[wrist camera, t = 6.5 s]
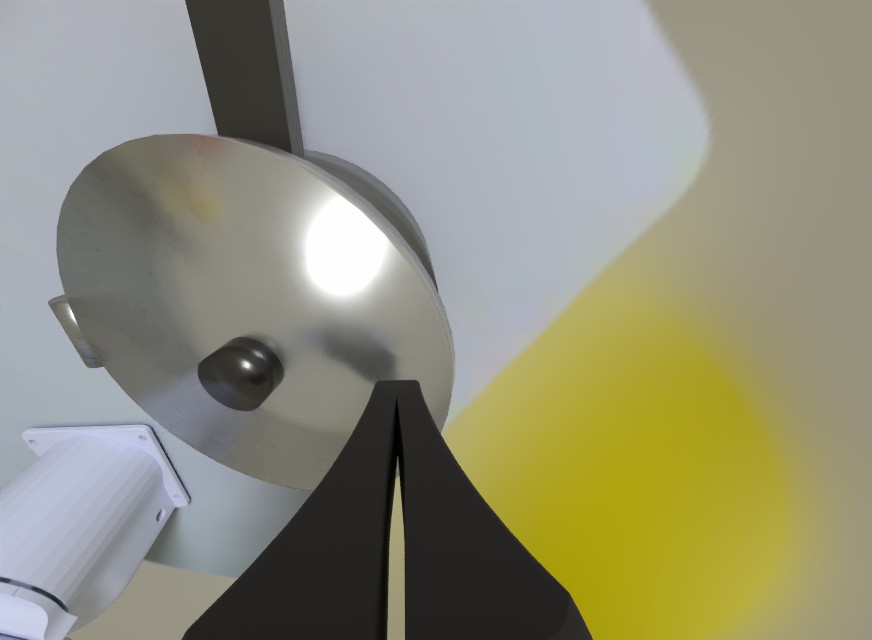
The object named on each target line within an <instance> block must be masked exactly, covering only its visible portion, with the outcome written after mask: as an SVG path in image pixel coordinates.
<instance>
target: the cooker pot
mask: <svg viewBox="0 0 872 640" xmlns="http://www.w3.org/2000/svg"><path fill="white" fill-rule="evenodd" d="M185 1H186V6H187V10H188V14H189V18H190V22H191V26H192V30H193V34H194V38H195V42H196V46H197V50H198V54H199V58H200V62H201V66H202V70H203V74H204V78H205V82H206V86H207V91H208V95H209V99H210V103H211V107H212V111H213V115H214V119H215V123H216V127H217V131H218V135H221V136H228V137H235V138H243V139H249V140H252V141H256V142H259V143H262V144H266V145H269V146H273V147H276V148H280V149H282V150H284V151H286V152H289V153H291V154H293V155H295V156H298V157H300V158H302V159H304V160H307V161H309V162H311V163H313V164H315V165H316V166H318V167H320V168H321V169H323V170H325V171H326V172H328V173H330V174H331V175H333V176H335V177H336V178H338V179H340V180H341V181H343V182H344V183H345V184H347V185H348V186H349V187H350V188H352V189H353V190H354V191H356V192H357V193H358V194H359V195H361V196H362V197H363V198H365V199H366V200H367V201H368V202H370V203H371V204H372V205H373V206H374V207H375V208H376V209H377V210H378V211H379V212H380V213H381V214H382V215H383V216H384V217H385V218H386V219H387V220H388V221H389V222H390V223H391V224H392V225H393V226H394V227H395V228H396V229H397V230H398V232H399V233H400V234H401V236H402V237H403V238H404V239H405V241H406V242H407V243H408V244H409V246H410V247H411V248H412V249H413V251H414V252H415V253H416V255H417V256H418V258H419V259H420V261H421V263H422V264H423V266H424V268H425V269H426V271H427V273H428V274H429V276H430V277H431V279H432V281H433V283H434V285H435V287H436V290H437V292H438V288H437V284H436V280H435V275H434V271H433V267H432V263H431V259H430V255H429V251H428V248H427V245H426V242H425V239H424V236H423V234H422V232H421V230H420V228H419V226H418V224H417V222H416V221H415V219H414V217H413V216H412V214H411V213H410V211H409V210H408V208H407V207H406V206H405V205H404V203H403V202H402V201H401V200H400V199H399V197H398V196H397V195H396V194H395V193H394V192H392V191H391V190H390V189H389V188H388V187H387V186H386V185H385V184H384V183H383V182H381V181H380V180H378V179H377V178H376V177H374V176H373V175H372V174H370V173H369V172H367V171H365V170H363V169H362V168H360V167H358V166H356V165H354V164H353V163H350V162H348V161H345V160H343V159H340V158H338V157H335V156H332V155H328V154H324V153H320V152H317V151H310V150H304V149H303V141H302V134H301V127H300V119H299V112H298V105H297V98H296V90H295V83H294V76H293V68H292V61H291V54H290V47H289V39H288V32H287V25H286V17H285V10H284V3H283V0H185Z"/></svg>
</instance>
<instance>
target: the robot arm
mask: <svg viewBox="0 0 872 640" xmlns="http://www.w3.org/2000/svg"><path fill="white" fill-rule="evenodd" d="M21 436H22V438H23V439H24V441H25V442H26V443H27V444H28V445H29V446H30V448H31V449H32V450H33V451H34V452H35V454H36V455H37V456H38V457H39V458H38V459H37V460H36V461H35V462H34V463H33V464H32V465H30V466H29V467H28V468H27V469H26V470H25V471H24V472H22V473H21V474H20V475H19V476H18V477H17V478H16V479H14V480H13V481H12V482H11V483H10V484H9V485H8V486H6V487H5V488H4V489H3V490H2V491H1V492H0V640H71V639H70V638H68V637H66V635H68V634H70V633H72V632H74V631H76V630H78V629H80V628H82V627H83V626H85V625H86V624H88V623H89V622H91V621H92V620H93V619H95V618H96V617H97V616H98V615H100V614H101V613H102V612H103V611H104V610H105V609H106V608H107V607H109V606H110V604H112V603H113V602H114V600H115V599H116V598H117V597H118V596H119V595H120V594H121V593H122V591H123V590H124V589H125V587H126V586H127V585H128V583H129V582H130V580H131V578H132V577H133V575H134V573H135V572H136V570H137V569H138V567H139V566H140V564H141V562H142V561H143V559H144V557H145V556H146V554H147V553H148V551H149V549H150V548H151V546H152V544H153V543H154V541H155V540H156V538H157V536H158V535H159V533H160V531H161V530H162V528H163V527H164V525H165V523H166V522H167V520H168V519H169V517H170V515H171V514H172V512H173V510H174V509H175V507H185V506H187V505H188V503H189V501H190V499H189V497H188V495H187V494H186V492H185V490H184V488H183V486H182V485H181V483H180V481H179V479H178V477H177V475H176V474H175V472H174V470H173V468H172V466H171V465H170V463H169V461H168V459H167V457H166V455H165V454H164V452H163V450H162V448H161V446H160V445H159V443H158V441H157V439H156V437H155V435H154V434H153V432H152V430H151V428H150V427H149V426H147V425H142V424H141V425H113V426H84V427H56V428H30V429H27V430H25V431H24V432H23V433H22V434H21ZM397 458H398V464H399V476H400V487H401V499H402V511H403V523H404V540H405V640H593V639H592V636H591V634H590V632H589V631H588V628H587V626H586V624H585V622H584V620H583V618H582V616H581V614H580V612H579V610H578V608H577V606H576V605H575V603H574V601H573V599H572V597H571V595H570V594H569V592H568V591H567V590H566V589H565V588H564V587H563V586H562V585H561V584H560V583H559V582H558V581H557V580H556V579H555V578H554V577H553V576H552V575H551V574H550V573H549V572H548V571H547V570H546V569H545V568H544V567H543V566H542V565H541V564H540V563H539V562H538V561H537V560H536V559H535V558H534V557H533V556H532V555H531V554H530V553H529V551H528V550H527V549H526V548H525V547H524V546H523V545H522V544H521V543H520V542H519V540H518V539H517V538H516V537H515V536H514V535H513V534H512V533H511V532H510V531H509V529H508V528H507V527H506V526H505V524H504V523H503V522H502V521H501V520H500V518H499V517H498V516H497V515H496V514H495V512H494V511H493V510H492V509H491V508H490V506H489V505H488V504H487V503H486V502H485V500H484V499H483V498H482V496H481V495H480V494H479V492H478V491H477V490H476V488H475V487H474V486H473V484H472V483H471V482H470V480H469V479H468V477H467V476H466V475H465V473H464V471H463V470H462V469H461V467H460V466H459V464H458V462H457V461H456V460H455V458H454V456H453V455H452V453H451V451H450V450H449V448H448V446H447V445H446V443H445V441H444V439H443V437H442V436H441V434H440V432H439V430H438V428H437V426H436V424H435V422H434V420H433V418H432V416H431V414H430V412H429V409H428V407H427V405H426V402H425V400H424V397H423V394H422V391H421V388H420V383H419V382H418V381H417V380H384V381H377V382H376V383H375V385H374V389H373V391H372V394H371V397H370V399H369V401H368V403H367V406H366V408H365V410H364V412H363V414H362V416H361V418H360V420H359V421H358V423H357V425H356V427H355V429H354V431H353V433H352V434H351V436H350V438H349V439H348V441H347V443H346V444H345V446H344V448H343V449H342V451H341V452H340V454H339V456H338V457H337V459H336V460H335V462H334V463H333V465H332V466H331V468H330V469H329V471H328V472H327V474H326V475H325V476H324V478H323V479H322V481H321V482H320V483H319V485H318V486H317V488H316V489H315V490H314V492H313V493H312V494H311V495H310V497H309V498H308V499H307V500H306V502H305V503H304V504H303V506H302V507H301V508H300V509H299V511H298V512H297V513H296V514H295V516H294V517H293V518H292V519H291V520H290V522H289V523H288V524H287V525H286V526H285V528H284V529H283V530H282V531H281V532H280V533H279V534H278V536H277V537H276V538H275V539H274V540H273V541H272V542H271V543H270V544H269V546H268V547H267V548H266V549H265V550H264V551H263V552H262V553H261V555H260V556H259V557H258V558H257V559H256V560H255V561H254V562H253V563H252V565H251V566H250V567H249V568H248V569H247V570H246V571H245V572H244V573H243V574H242V575H241V576H240V577H239V578H238V579H237V580H236V581H235V582H234V583H233V584H232V586H230V587H229V588H228V589H227V590H226V591H225V592H224V593H223V594H222V595H221V597H219V598H218V599H217V600H216V601H215V603H213V604H212V605H211V607H209V609H207V610H206V611H205V613H203V615H202V616H200V618H199V619H198V620H197V621H196V622H194V624H192V625H191V626H190V628H189V629H188V630H187V631H186V633H185V634H184V636H183V638H182V640H387V621H388V576H389V541H390V527H391V517H392V506H393V497H394V488H395V478H396V468H397Z"/></svg>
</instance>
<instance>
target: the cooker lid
mask: <svg viewBox="0 0 872 640" xmlns="http://www.w3.org/2000/svg"><path fill="white" fill-rule="evenodd" d="M56 251H57V259H58V266H59V274H60V277H61V281H62V285H63V288H64V292H65V295H62V296H58V297H55V298H53V299H51V300H50V301H48V304H49V306H50V307H51V309H52V311H53V312H54V314H55V316H56V317H57V319H58V321H59V322H60V324H61V326H62V327H63V329H64V331H65V332H66V334H67V335H68V337H69V339H70V340H71V342H72V344H73V345H74V347H75V349H76V350H77V352H78V354H79V355H80V357H81V358H82V360H83V362H84V363H85V365H86V366H87V367H89V368H98V367H103V366H104V367H105V369H106V370H107V371H108V373H109V374H110V375H111V376H112V378H113V379H114V380H115V381H116V382H117V383H118V384H119V386H120V387H121V388H122V389H123V390H124V391H125V392H126V394H127V395H128V396H129V397H130V398H131V399H133V400H134V401H135V402H136V403H137V404H138V405H139V406H140V407H141V408H142V409H143V410H144V411H145V412H146V413H147V414H148V415H150V416H151V417H152V418H153V419H154V420H155V421H157V422H158V423H159V424H160V425H161V426H163V427H164V428H165V429H167V430H168V431H169V432H171V433H172V434H173V435H175V436H176V437H177V438H179V439H180V440H182V441H183V442H185V443H186V444H188V445H189V446H191V447H192V448H194V449H196V450H197V451H199V452H201V453H203V454H204V455H206V456H208V457H210V458H211V459H213V460H215V461H217V462H219V463H221V464H223V465H225V466H227V467H229V468H231V469H234V470H236V471H239V472H241V473H244V474H246V475H248V476H251V477H254V478H257V479H260V480H263V481H266V482H269V483H273V484H277V485H281V486H285V487H289V488H295V489H302V490H308V491H314V490H315V489H316V488H317V486H318V485H319V483H320V482H321V481H322V479H323V478H324V476H325V475H326V474H327V472H328V471H329V469H330V468H331V466H332V465H333V463H334V462H335V460H336V459H337V457H338V456H339V454H340V452H341V451H342V449H343V448H344V446H345V444H346V443H347V441H348V439H349V438H350V436H351V434H352V433H353V431H354V429H355V427H356V425H357V423H358V421H359V420H360V418H361V416H362V414H363V412H364V410H365V408H366V406H367V403H368V401H369V399H370V397H371V394H372V391H373V389H374V385H375V383H376V382H377V381H384V380H417V381H418V382H419V383H420V388H421V391H422V394H423V397H424V400H425V402H426V405H427V407H428V409H429V412H430V414H431V416H432V418H433V420H434V422H435V424H436V426H437V428H438V430H439V432H440V434H441V431H442V429H443V426H444V423H445V421H446V418H447V415H448V410H449V405H450V399H451V394H452V388H453V383H454V377H455V353H454V346H453V339H452V332H451V328H450V325H449V322H448V318H447V315H446V311H445V308H444V305H443V303H442V301H441V299H440V296H439V294H438V292H437V290H436V287H435V285H434V283H433V281H432V279H431V277H430V276H429V274H428V273H427V271H426V269H425V268H424V266H423V264H422V263H421V261H420V259H419V258H418V256H417V255H416V253H415V252H414V251H413V249H412V248H411V247H410V246H409V244H408V243H407V242H406V241H405V239H404V238H403V237H402V236H401V234H400V233H399V232H398V230H397V229H396V228H395V227H394V226H393V225H392V224H391V223H390V222H389V221H388V220H387V219H386V218H385V217H384V216H383V215H382V214H381V213H380V212H379V211H378V210H377V209H376V208H375V207H374V206H373V205H372V204H371V203H370V202H368V201H367V200H366V199H365V198H363V197H362V196H361V195H359V194H358V193H357V192H356V191H354V190H353V189H352V188H350V187H349V186H348V185H347V184H345V183H344V182H343V181H341V180H340V179H338V178H336V177H335V176H333V175H331V174H330V173H328V172H326V171H325V170H323V169H321V168H320V167H318V166H316V165H315V164H313V163H311V162H309V161H307V160H304V159H302V158H300V157H298V156H295V155H293V154H291V153H289V152H286V151H284V150H282V149H280V148H276V147H273V146H269V145H266V144H262V143H259V142H256V141H252V140H249V139H243V138H235V137H228V136H221V135H205V134H166V135H152V136H148V137H144V138H139V139H135V140H130V141H127V142H124V143H122V144H120V145H118V146H116V147H114V148H112V149H110V150H107V151H105V152H103V153H102V154H101V155H100V156H98V157H97V158H96V159H95V160H93V161H92V162H91V163H90V164H88V165H87V166H86V167H85V168H84V169H83V170H82V172H81V173H80V174H79V176H78V177H77V178H76V179H75V181H74V182H73V183H72V185H71V186H70V189H69V191H68V193H67V195H66V197H65V200H64V202H63V204H62V207H61V212H60V216H59V221H58V226H57V248H56ZM398 476H399V464H398V458H397V468H396V477H398Z"/></svg>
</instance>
